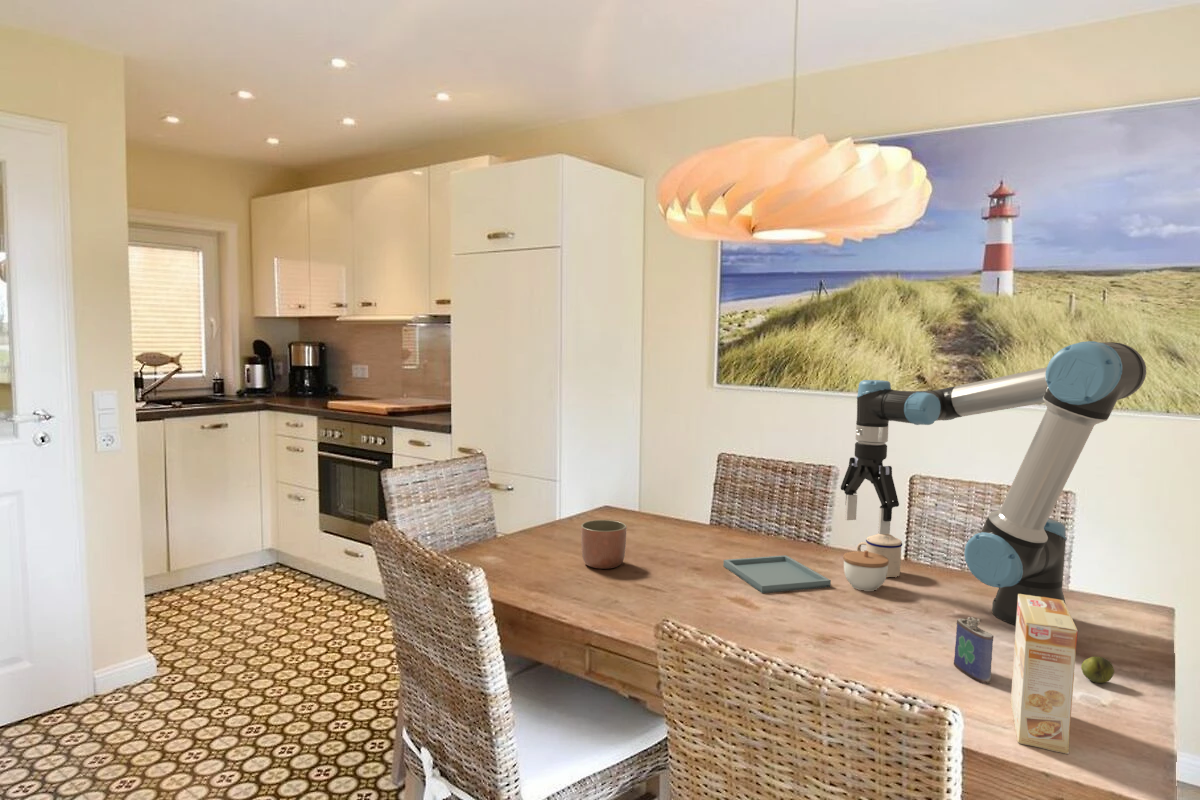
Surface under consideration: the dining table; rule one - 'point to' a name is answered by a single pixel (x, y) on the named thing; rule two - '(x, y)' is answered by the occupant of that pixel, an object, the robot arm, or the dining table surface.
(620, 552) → the planter
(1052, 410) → the robot arm
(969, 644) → the flask
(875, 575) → the lidded jar
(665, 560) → the dining table surface
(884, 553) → the teacup with lid
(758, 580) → the tray
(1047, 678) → the coffeecake box
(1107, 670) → the lime
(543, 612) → the dining table surface
